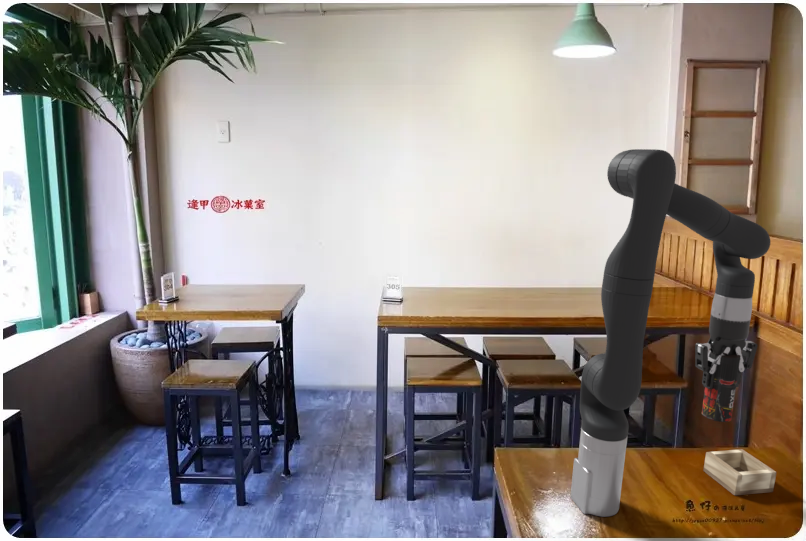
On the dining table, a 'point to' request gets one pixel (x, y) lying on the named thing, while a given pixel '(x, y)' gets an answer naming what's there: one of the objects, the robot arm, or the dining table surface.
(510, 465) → the dining table surface
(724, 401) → the deodorant
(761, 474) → the white wooden box
